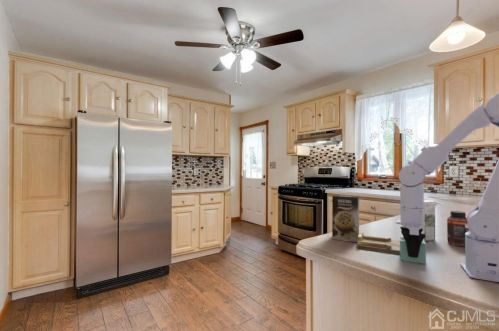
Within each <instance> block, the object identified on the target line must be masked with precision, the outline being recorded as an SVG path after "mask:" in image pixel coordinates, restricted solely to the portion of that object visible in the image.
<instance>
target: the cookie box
mask: <svg viewBox="0 0 499 331" xmlns="http://www.w3.org/2000/svg"><path fill="white" fill-rule="evenodd" d="M331 199H332V201H331V202H332V204H331V205H332V209H331V210H332V212H331V214H332V217H331V218H332V221H331V222H332V224H331V226H332V228H331V229H332V230H331V231H332V233H331V239H332V240H336V241H344V242H351V243H352V242H354V243H358V235H359V233H360V196H359V195H346V194H345V195H344V194H334V195H332V198H331Z"/></svg>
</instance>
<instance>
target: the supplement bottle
mask: <svg viewBox="0 0 499 331" xmlns="http://www.w3.org/2000/svg"><path fill="white" fill-rule="evenodd" d="M466 215H467V214H466V211H462V210H461V211H460V210H451V211H450V216H449V217H447V219H446V226H447V227H446V229H447V230H446V232H447V236H446V237H447V238H446V239H447V243H448V244H449V245H452V246H456V247H462V248H463V247H465V233H466V232H468V231H469V229H468V222H467V217H466Z"/></svg>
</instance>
